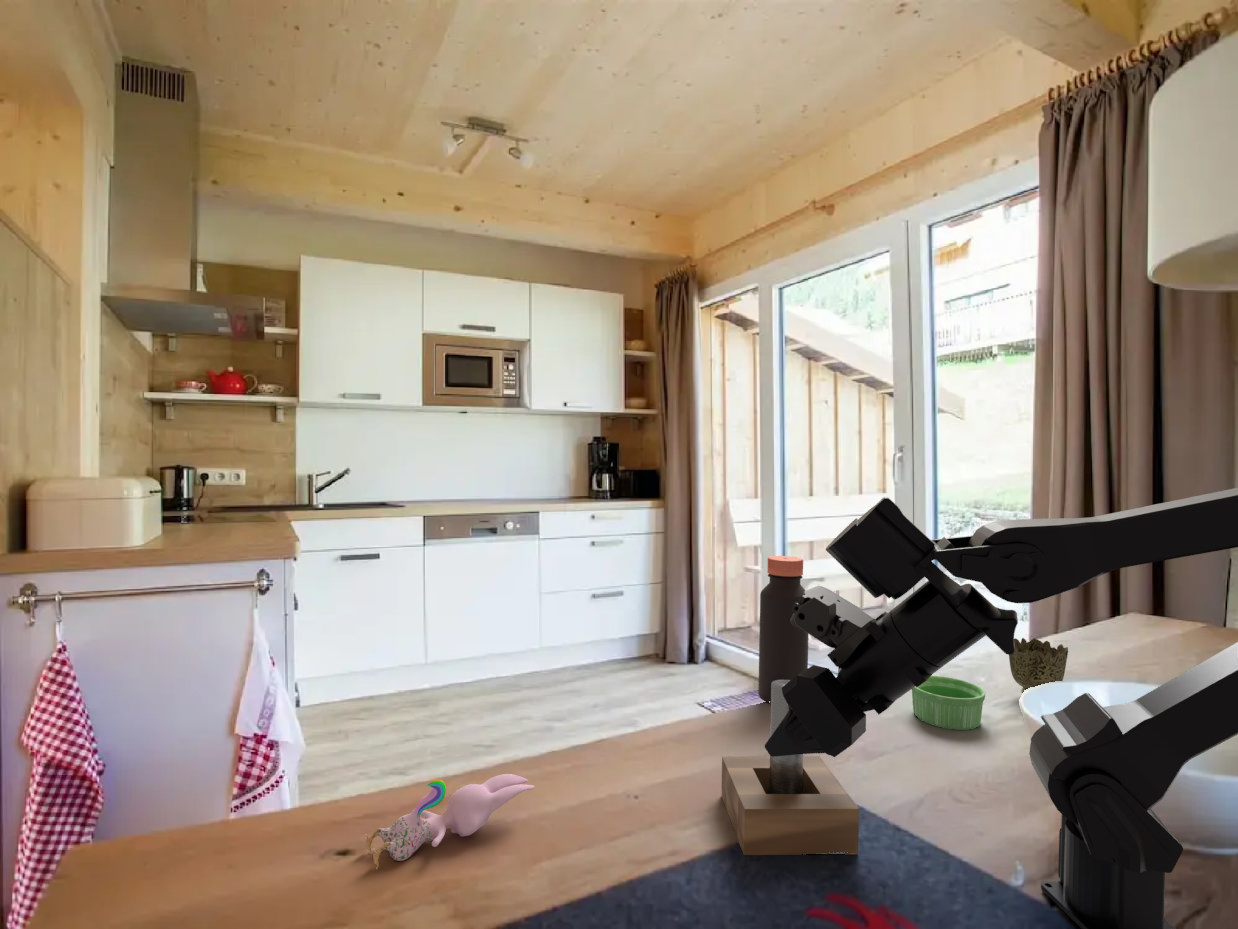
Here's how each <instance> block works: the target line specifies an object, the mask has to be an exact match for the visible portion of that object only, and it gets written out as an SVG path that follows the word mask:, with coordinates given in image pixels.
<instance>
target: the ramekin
mask: <svg viewBox="0 0 1238 929" xmlns="http://www.w3.org/2000/svg"><path fill="white" fill-rule="evenodd" d="M911 694H912V696H911V697H912V707H913V708H912V709H913V714H914V716H915V717H916V716H917V717H918V718H917V717H916V718H917V719H919V718H920V719H921V720H923V721H925V722H926V723H925V722H924V723H925V724H928V723H929V724H928V725H930V724H933V725H935V726H934V727H936V726H939V727H938V728H940V727H944V728H943V729H945V728H948V729H947V730H952V729H957V730H956V731H969V729H971V730H975V729H977V728H978V727H980V725H981V722H982V714H983V705H984V701H985V698H986V692H985V690H984V689H983V688H982V687H981V686H979V685H977V684H975V683H972V682H971V681H966V680H963V679H959V678H954V677H949V676H943V675H931V676H930V677H929V678H928V679H927V680H926V681H925V682H924V683H922V684H921V685H920V686H918V687H917V688H916V686H915V687H914V688H912V689H911ZM920 719H919V720H920ZM921 720H920V721H921ZM923 721H922V722H923ZM933 725H932V726H933ZM976 727H977V728H976ZM974 728H975V729H974Z"/></svg>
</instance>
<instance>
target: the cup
mask: <svg viewBox="0 0 1238 929" xmlns="http://www.w3.org/2000/svg"><path fill="white" fill-rule="evenodd" d="M1014 645H1015V652H1014V653H1013V654H1012V655H1008V659H1009V668H1010V673H1011V675H1012V678H1013V680H1014V681H1015V682H1016V684H1018V685H1019V686H1020V687H1021V690H1020V693H1021V694H1022V693H1023V692H1024V690H1026V689H1028V688H1030V687H1035V686H1038V685H1041V684H1045V683H1049V682H1055V681H1062V682H1063V681H1064V677H1065V672H1066V668H1067V667H1066V666H1067V660H1068V655H1069V647H1067V646H1066V647H1064V645H1063V644H1062V643H1061V644H1058V646H1056V647H1054V646H1053V647H1052V646H1051V642H1049V640H1044V642H1042V641H1041V640H1039V639H1037V638H1035V637H1034V638H1032V639H1030V640H1029V641H1027V639H1025V638H1024V637H1022V638H1021V640H1020V641H1019V639H1018V638H1015V637H1014Z"/></svg>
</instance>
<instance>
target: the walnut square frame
mask: <svg viewBox="0 0 1238 929" xmlns="http://www.w3.org/2000/svg"><path fill="white" fill-rule="evenodd" d="M769 775H770V755H769V756H768V755H767V756H758V755H757V756H752V755H751V756H742V755H741V756H738V755H737V756H726V755H725V756H723V755H722V756H721V794H720V795H721V798H722V801H723V804H724V807H725V809H726V812H727V814H728V817H729V819H730V821H731V825H732V827H733V831H734V833H735V836H736V838H737V841H738V844H739V846H740V848H741V851H742V854H743V856H797V855H798V856H801V855H802V854H803V855H802V856H806V854H816V853H817V854H818V853H829V852H830V853H833V852H834V853H836V852H839V853H840V852H843V853H844V852H845V853H847V852H848V853H858V854H859V838H860V837H859V832H860V831H859V828H860V808H859V806H858V805H857V804H856V803H855V801H854V800H853V798H852V797H851V796H850V795H849V793H848V791H847V790H846V789H845V788H844V786H843V785H842V784H841V782H840V781H839V780H838V778H837V777H836V776H835V775H834V773H833V771H832V770H831V769H830V768H829V767H828V765H827V764H826V762H825V761H824V760H823V758H822V757H821V756H817V755H816V756H810V755H809V756H807V755H806V756H805V755H803V777H802V794H769Z"/></svg>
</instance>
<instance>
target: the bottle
mask: <svg viewBox="0 0 1238 929" xmlns="http://www.w3.org/2000/svg"><path fill="white" fill-rule="evenodd" d="M766 571H767V572H766V573H767V577H769V583H767V585H765V587H763V588H762V590H761V591H760V595H759V596H760V597H759V636H758V637H759V638H758V639H759V641H758V642H759V643H758V644H759V646H758V648H759V649H758V688H757V689H758V690H757V691H758V693H757V694H758V696H759V699H761V700H762V701H764V702H765V703H768V702H769V701H770V703H769V704H770V705H771V683H772V682H773V681H776V680H792V679H793V678H794V677H796V676H797V675H798V674H800V673H802V672H803V671H805V670H806V669H808V668H809V634H808V633H807V632H805V631H804V630H799V629H798V628H796V627H795V626H793V625H792V623H791V622H790V619H791V617H792V615H793V611H792V605H793V604H795V603H797V602H798V601H799V600H800V599H801V597H802V595H803V593H804V591H806V590H807V589H805V588H804V587H803V586H802V585H801V579H803V575H804V559H803V558H801V557H797V556H790V555H772V556H769V557H767V570H766Z"/></svg>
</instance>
